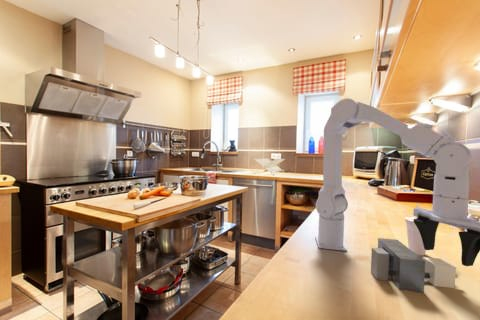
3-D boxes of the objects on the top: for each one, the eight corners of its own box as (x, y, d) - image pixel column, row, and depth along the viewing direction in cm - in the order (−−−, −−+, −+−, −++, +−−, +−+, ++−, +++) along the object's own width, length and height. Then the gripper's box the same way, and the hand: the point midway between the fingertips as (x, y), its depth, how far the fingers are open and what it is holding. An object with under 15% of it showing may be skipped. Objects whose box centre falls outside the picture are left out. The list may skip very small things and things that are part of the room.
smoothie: (418, 248, 69) (420, 202, 68) (437, 257, 62) (439, 207, 62) (398, 247, 68) (400, 202, 68) (415, 257, 62) (417, 207, 62)
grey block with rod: (369, 271, 54) (370, 246, 54) (445, 278, 52) (447, 252, 52) (377, 280, 50) (378, 254, 50) (460, 288, 48) (461, 260, 48)
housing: (377, 262, 59) (378, 237, 58) (396, 264, 58) (397, 239, 57) (399, 289, 47) (400, 258, 47) (423, 292, 46) (425, 261, 46)
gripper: (404, 191, 56) (402, 244, 56) (478, 204, 42) (474, 275, 42) (426, 190, 57) (424, 242, 58) (504, 203, 43) (500, 272, 44)
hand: (446, 256), depth 50 cm, fingers open, 7 cm apart
